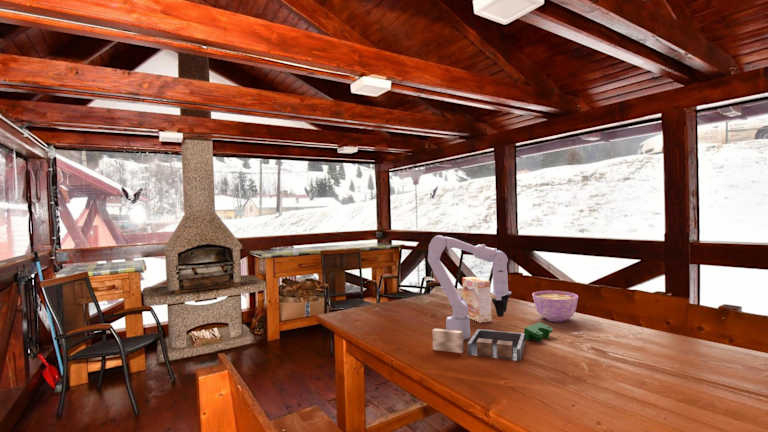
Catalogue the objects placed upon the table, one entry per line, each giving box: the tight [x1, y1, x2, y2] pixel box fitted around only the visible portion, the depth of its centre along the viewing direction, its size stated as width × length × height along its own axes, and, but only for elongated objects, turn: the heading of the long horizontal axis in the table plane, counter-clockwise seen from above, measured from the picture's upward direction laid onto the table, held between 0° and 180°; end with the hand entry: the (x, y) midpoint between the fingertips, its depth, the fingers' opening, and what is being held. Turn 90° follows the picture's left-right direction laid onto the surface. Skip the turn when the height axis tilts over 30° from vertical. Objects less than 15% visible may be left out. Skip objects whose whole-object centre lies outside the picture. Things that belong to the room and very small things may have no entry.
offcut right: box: [497, 340, 513, 358], centre depth 132 cm, size 5×4×4 cm
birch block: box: [431, 328, 465, 354], centre depth 140 cm, size 11×2×8 cm, turn 64°
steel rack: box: [467, 328, 526, 362], centre depth 139 cm, size 18×18×5 cm
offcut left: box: [477, 338, 493, 356], centre depth 135 cm, size 5×4×4 cm
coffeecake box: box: [461, 276, 492, 324], centre depth 184 cm, size 15×7×20 cm, turn 17°
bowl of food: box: [531, 290, 579, 323], centre depth 177 cm, size 20×20×12 cm
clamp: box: [523, 321, 553, 342], centre depth 149 cm, size 12×6×9 cm, turn 121°
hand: (501, 314), depth 152 cm, fingers open, 7 cm apart
